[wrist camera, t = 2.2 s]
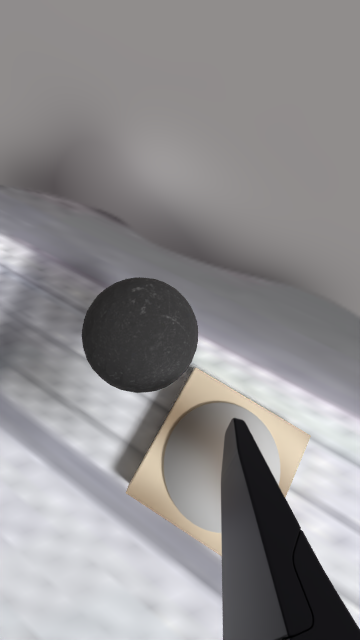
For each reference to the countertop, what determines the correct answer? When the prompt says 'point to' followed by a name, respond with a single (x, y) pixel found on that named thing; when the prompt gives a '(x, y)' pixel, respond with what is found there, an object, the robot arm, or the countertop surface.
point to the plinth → (208, 456)
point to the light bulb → (140, 335)
